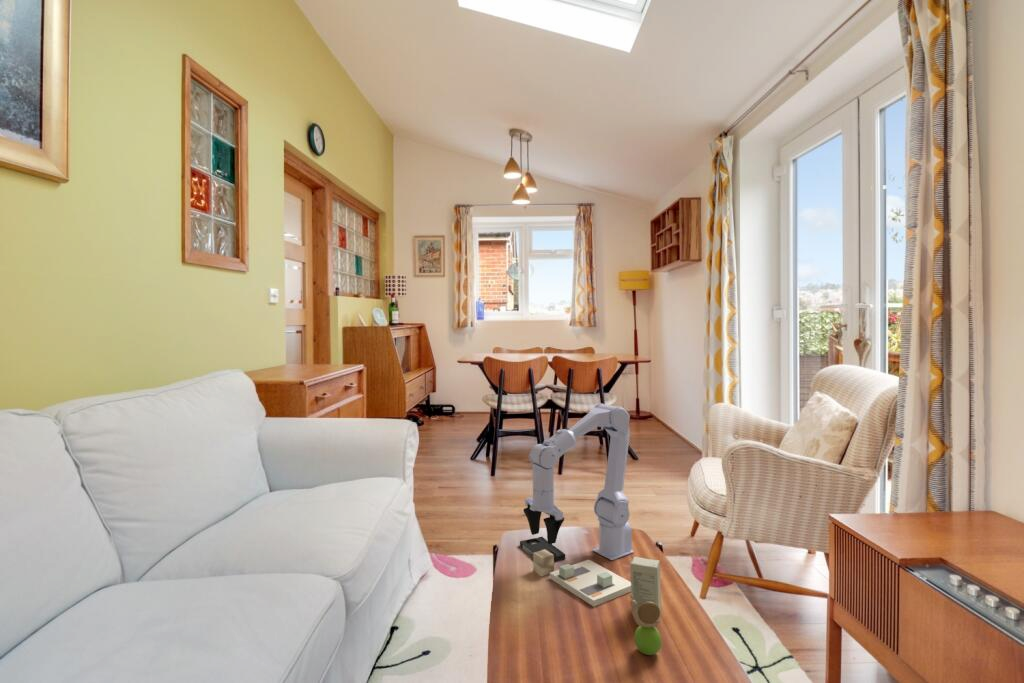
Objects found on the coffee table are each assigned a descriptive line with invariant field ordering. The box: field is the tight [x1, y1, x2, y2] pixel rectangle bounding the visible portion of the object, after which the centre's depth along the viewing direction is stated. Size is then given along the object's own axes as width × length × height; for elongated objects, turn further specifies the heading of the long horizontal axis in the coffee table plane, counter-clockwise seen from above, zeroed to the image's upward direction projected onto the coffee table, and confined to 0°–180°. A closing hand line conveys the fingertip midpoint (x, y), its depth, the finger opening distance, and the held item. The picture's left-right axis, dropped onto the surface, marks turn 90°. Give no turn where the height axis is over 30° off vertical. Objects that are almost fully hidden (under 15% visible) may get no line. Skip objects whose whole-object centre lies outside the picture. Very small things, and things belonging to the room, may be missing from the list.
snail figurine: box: [629, 593, 663, 656], centre depth 102 cm, size 5×6×12 cm
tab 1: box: [558, 563, 574, 579], centre depth 131 cm, size 3×2×2 cm
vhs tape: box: [519, 536, 566, 563], centre depth 149 cm, size 14×8×2 cm, turn 25°
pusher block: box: [532, 549, 555, 577], centre depth 137 cm, size 4×4×5 cm
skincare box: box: [629, 556, 662, 620], centre depth 116 cm, size 6×4×12 cm
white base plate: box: [549, 559, 631, 608], centre depth 130 cm, size 14×17×2 cm
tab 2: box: [597, 572, 612, 588], centre depth 126 cm, size 3×2×2 cm
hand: (543, 538), depth 137 cm, fingers open, 7 cm apart
